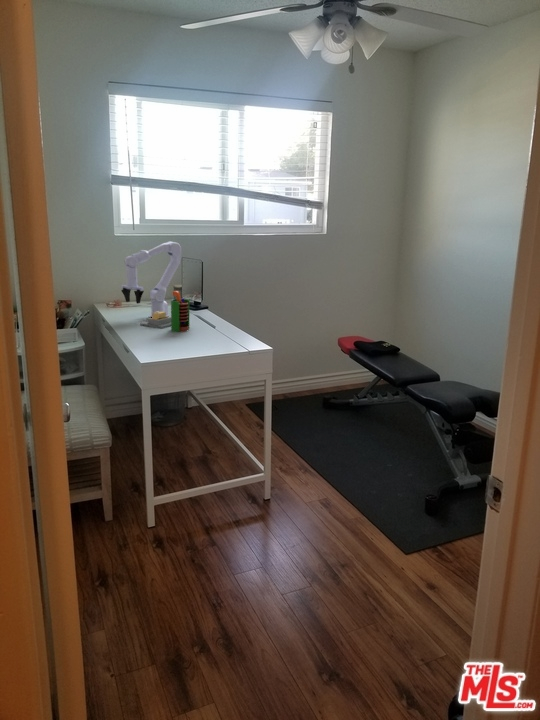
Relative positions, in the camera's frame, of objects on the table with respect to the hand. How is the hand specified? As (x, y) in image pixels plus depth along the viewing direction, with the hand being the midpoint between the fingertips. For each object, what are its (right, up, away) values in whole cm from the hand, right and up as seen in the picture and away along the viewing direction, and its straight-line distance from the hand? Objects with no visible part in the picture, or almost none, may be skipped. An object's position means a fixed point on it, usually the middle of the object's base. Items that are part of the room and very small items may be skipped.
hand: (133, 302), depth 303 cm
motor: (+30, -17, -21) cm, 40 cm away
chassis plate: (+17, -13, -10) cm, 23 cm away
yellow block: (+17, -12, -10) cm, 23 cm away
